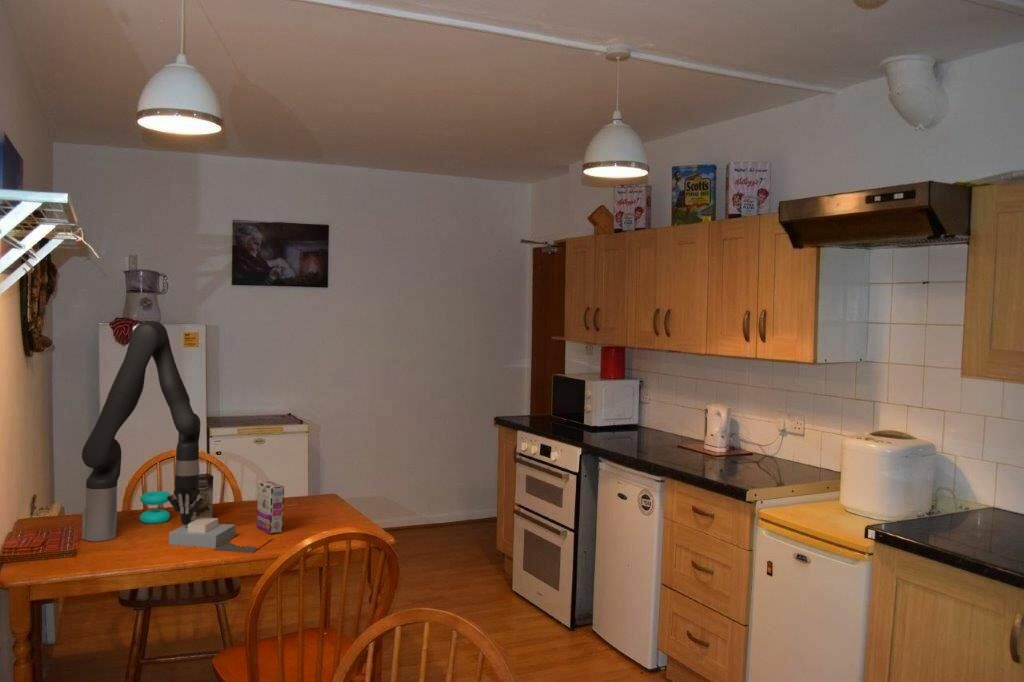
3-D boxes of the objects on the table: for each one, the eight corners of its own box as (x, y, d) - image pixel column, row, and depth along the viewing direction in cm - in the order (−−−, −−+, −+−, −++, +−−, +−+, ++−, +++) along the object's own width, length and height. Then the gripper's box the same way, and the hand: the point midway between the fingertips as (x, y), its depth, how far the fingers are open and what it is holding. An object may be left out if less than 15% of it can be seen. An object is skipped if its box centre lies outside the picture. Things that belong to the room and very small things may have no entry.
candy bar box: (283, 532, 277) (285, 486, 276) (270, 535, 274) (271, 487, 273) (269, 525, 285) (270, 480, 285) (256, 527, 282) (257, 482, 281)
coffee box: (186, 522, 285) (187, 478, 285) (182, 518, 291) (183, 474, 290) (212, 519, 291) (213, 475, 290) (207, 515, 296) (209, 472, 295)
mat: (214, 550, 254) (214, 549, 254) (236, 536, 270) (236, 535, 270) (252, 552, 253) (253, 551, 253) (273, 539, 269) (273, 538, 269)
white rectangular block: (187, 531, 260) (187, 524, 260) (201, 524, 269) (201, 517, 269) (205, 532, 259) (205, 525, 259) (218, 525, 268) (218, 518, 268)
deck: (168, 544, 258) (169, 532, 258) (190, 533, 272) (190, 521, 272) (215, 548, 256) (215, 535, 256) (235, 536, 270) (235, 524, 270)
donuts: (166, 496, 282) (136, 496, 280) (165, 524, 282) (136, 524, 280) (173, 490, 291) (145, 490, 290) (173, 517, 292) (144, 517, 290)
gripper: (162, 473, 261) (161, 526, 262) (200, 476, 260) (199, 528, 260) (174, 469, 269) (173, 520, 269) (211, 471, 267) (210, 522, 268)
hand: (186, 524), depth 265 cm, fingers closed
